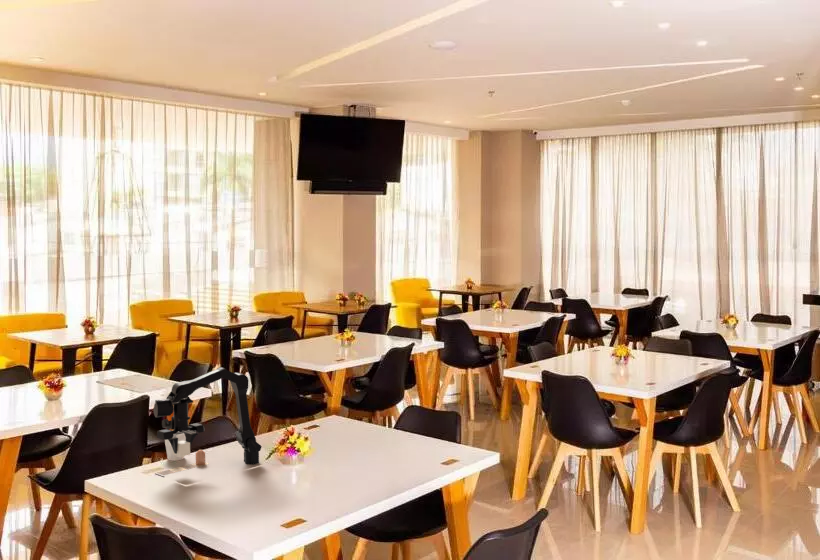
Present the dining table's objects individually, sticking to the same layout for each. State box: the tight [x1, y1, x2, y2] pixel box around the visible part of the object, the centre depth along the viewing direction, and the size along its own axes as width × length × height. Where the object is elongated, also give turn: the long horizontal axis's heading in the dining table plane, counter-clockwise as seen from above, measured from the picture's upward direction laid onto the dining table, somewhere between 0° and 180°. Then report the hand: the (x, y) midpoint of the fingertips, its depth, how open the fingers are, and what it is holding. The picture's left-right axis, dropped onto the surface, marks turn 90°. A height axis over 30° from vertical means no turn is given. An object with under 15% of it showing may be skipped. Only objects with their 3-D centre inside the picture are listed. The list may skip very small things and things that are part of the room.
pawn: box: [195, 449, 206, 466], centre depth 345 cm, size 4×4×6 cm
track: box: [154, 461, 210, 478], centre depth 339 cm, size 23×6×1 cm, turn 138°
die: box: [173, 440, 191, 457], centre depth 330 cm, size 5×5×5 cm
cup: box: [164, 431, 186, 462], centre depth 353 cm, size 9×9×12 cm
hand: (181, 452), depth 330 cm, fingers closed on die, 5 cm apart
